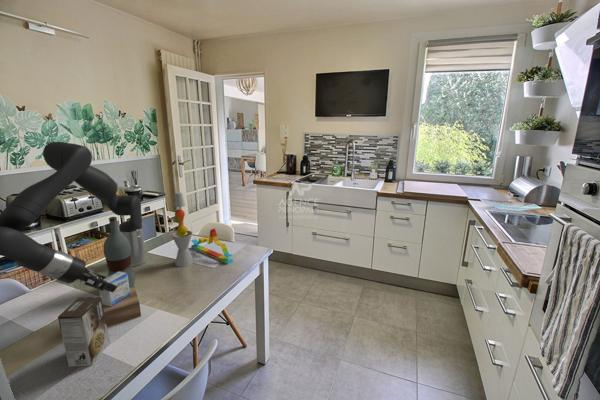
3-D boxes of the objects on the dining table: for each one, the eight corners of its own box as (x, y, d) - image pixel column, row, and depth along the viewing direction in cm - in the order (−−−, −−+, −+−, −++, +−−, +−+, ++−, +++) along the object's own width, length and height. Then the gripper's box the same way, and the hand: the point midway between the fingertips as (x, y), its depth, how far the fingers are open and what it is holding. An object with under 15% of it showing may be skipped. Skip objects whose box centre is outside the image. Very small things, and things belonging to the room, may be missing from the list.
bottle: (141, 284, 120) (132, 216, 112) (119, 295, 112) (108, 222, 104) (126, 279, 124) (116, 212, 116) (104, 289, 115) (92, 219, 108)
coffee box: (88, 343, 87) (79, 296, 83) (110, 342, 88) (102, 295, 84) (67, 367, 79) (56, 316, 75) (92, 366, 79) (82, 315, 75)
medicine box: (111, 307, 96) (107, 284, 94) (101, 304, 97) (97, 281, 95) (130, 294, 103) (127, 272, 101) (121, 292, 104) (117, 270, 102)
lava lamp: (170, 263, 138) (163, 193, 130) (186, 256, 146) (181, 189, 137) (181, 268, 134) (175, 195, 125) (198, 261, 141) (193, 192, 132)
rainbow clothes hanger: (191, 248, 156) (189, 222, 153) (196, 246, 159) (194, 221, 155) (227, 264, 139) (226, 236, 135) (232, 262, 141) (231, 234, 138)
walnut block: (98, 311, 103) (95, 296, 101) (136, 300, 110) (134, 286, 108) (99, 330, 93) (97, 314, 92) (141, 317, 100) (139, 302, 99)
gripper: (78, 262, 83) (126, 281, 95) (63, 249, 91) (109, 268, 103) (59, 286, 80) (110, 303, 92) (45, 270, 89) (94, 287, 100)
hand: (109, 284), depth 97 cm, fingers open, 8 cm apart
